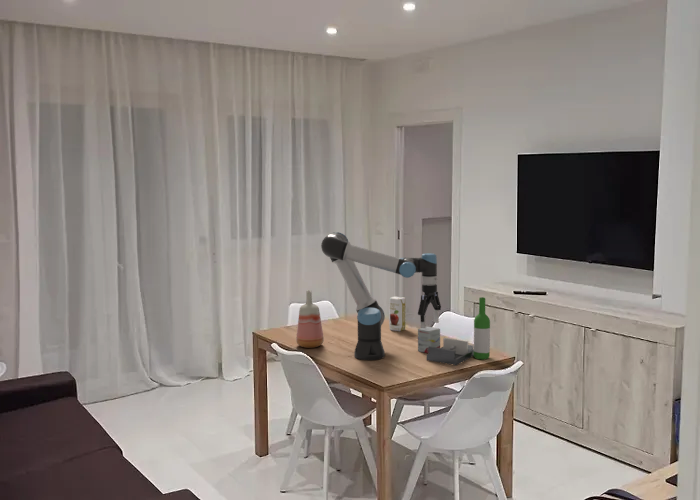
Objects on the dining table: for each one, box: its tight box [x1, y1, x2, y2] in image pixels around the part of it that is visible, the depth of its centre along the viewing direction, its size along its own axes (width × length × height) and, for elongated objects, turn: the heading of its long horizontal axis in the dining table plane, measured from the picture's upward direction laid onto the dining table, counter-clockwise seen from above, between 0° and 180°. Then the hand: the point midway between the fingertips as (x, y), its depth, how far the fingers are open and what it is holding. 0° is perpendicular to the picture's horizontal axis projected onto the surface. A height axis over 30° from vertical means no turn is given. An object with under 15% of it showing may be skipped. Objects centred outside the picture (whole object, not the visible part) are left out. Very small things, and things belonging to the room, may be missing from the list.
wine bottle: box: [473, 296, 491, 361], centre depth 324 cm, size 8×8×30 cm
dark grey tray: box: [426, 344, 474, 366], centre depth 326 cm, size 16×21×7 cm
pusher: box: [442, 337, 469, 355], centre depth 328 cm, size 13×6×7 cm, turn 55°
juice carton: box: [388, 295, 407, 332], centre depth 384 cm, size 8×9×19 cm
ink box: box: [417, 325, 441, 354], centre depth 339 cm, size 9×9×12 cm
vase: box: [295, 290, 325, 349], centre depth 349 cm, size 14×14×30 cm
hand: (429, 325), depth 338 cm, fingers open, 13 cm apart
